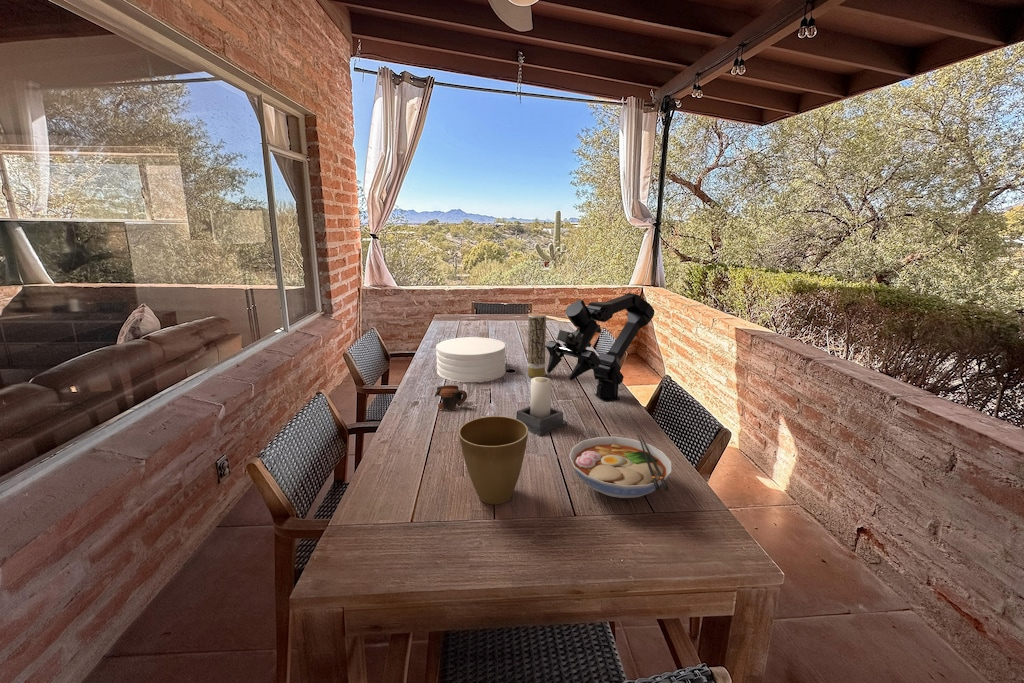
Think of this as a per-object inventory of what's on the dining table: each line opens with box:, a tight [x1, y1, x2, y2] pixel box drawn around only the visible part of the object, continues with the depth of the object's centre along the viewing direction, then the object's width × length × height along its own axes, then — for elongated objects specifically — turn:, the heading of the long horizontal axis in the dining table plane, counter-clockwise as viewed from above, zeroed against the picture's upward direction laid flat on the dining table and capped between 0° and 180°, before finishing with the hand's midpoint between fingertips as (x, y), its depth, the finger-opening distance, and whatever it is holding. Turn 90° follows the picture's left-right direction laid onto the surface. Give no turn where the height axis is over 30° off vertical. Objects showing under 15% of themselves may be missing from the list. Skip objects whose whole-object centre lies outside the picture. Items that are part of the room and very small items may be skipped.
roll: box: [529, 376, 552, 419], centre depth 137 cm, size 6×6×13 cm
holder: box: [516, 406, 569, 437], centre depth 138 cm, size 12×12×4 cm
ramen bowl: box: [568, 434, 673, 499], centre depth 104 cm, size 25×23×8 cm
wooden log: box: [527, 312, 547, 379], centre depth 180 cm, size 7×7×25 cm
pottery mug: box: [434, 384, 468, 411], centre depth 153 cm, size 12×10×8 cm
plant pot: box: [458, 415, 529, 505], centre depth 100 cm, size 15×15×16 cm
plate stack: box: [435, 336, 506, 383], centre depth 187 cm, size 28×28×12 cm
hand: (558, 375), depth 141 cm, fingers open, 9 cm apart
